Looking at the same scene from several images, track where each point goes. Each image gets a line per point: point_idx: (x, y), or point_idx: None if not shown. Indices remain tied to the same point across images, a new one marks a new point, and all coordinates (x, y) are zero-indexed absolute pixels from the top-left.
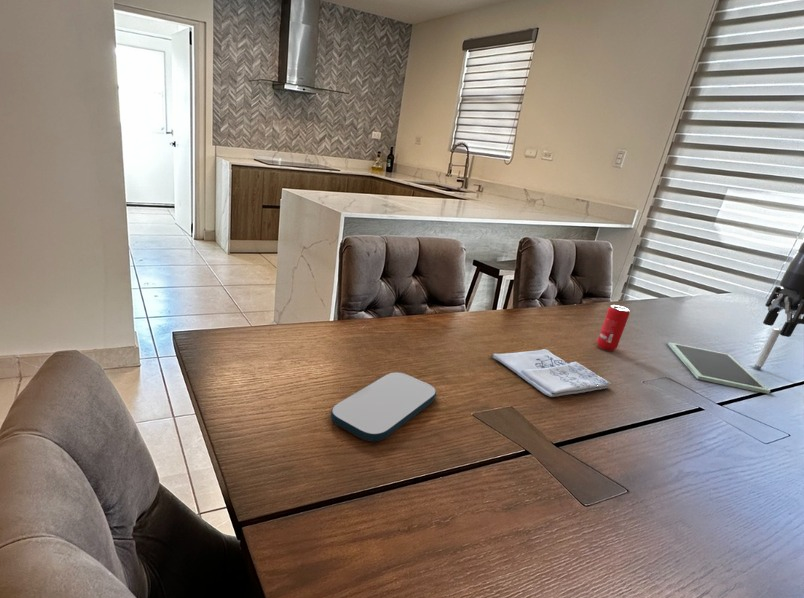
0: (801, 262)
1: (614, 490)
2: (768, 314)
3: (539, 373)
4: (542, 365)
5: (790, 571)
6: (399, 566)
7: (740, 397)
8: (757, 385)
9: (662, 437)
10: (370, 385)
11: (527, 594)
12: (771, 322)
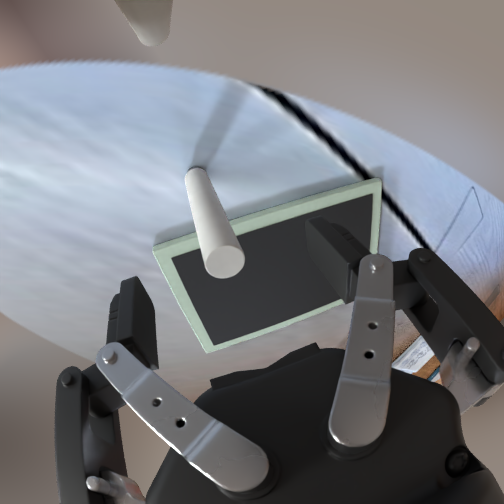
0: None
1: (496, 288)
2: (155, 353)
3: (417, 366)
4: None
5: None
6: (501, 313)
7: (408, 229)
8: (369, 203)
9: (474, 284)
10: (439, 378)
11: None
12: (141, 296)
